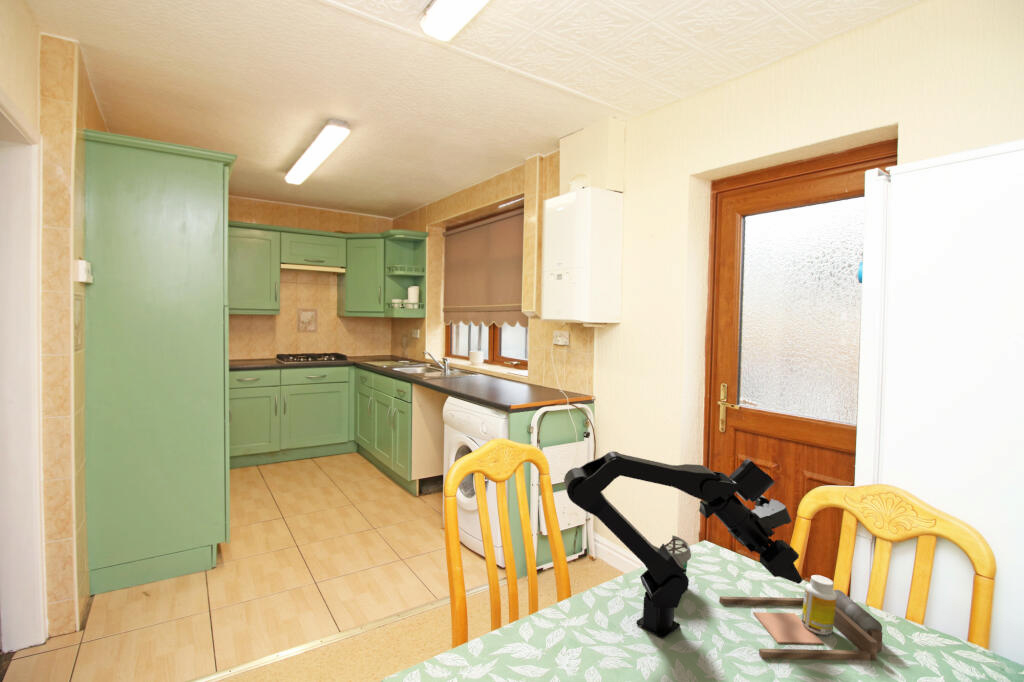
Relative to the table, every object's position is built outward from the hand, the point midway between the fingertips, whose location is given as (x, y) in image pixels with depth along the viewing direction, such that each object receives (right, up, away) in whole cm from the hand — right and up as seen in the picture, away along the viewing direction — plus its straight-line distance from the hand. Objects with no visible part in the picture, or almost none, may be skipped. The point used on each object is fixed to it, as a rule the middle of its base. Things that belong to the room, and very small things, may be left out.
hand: (787, 570), depth 104 cm
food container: (-18, -11, +15) cm, 26 cm away
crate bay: (+2, -12, +1) cm, 12 cm away
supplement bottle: (+6, -12, +1) cm, 14 cm away
